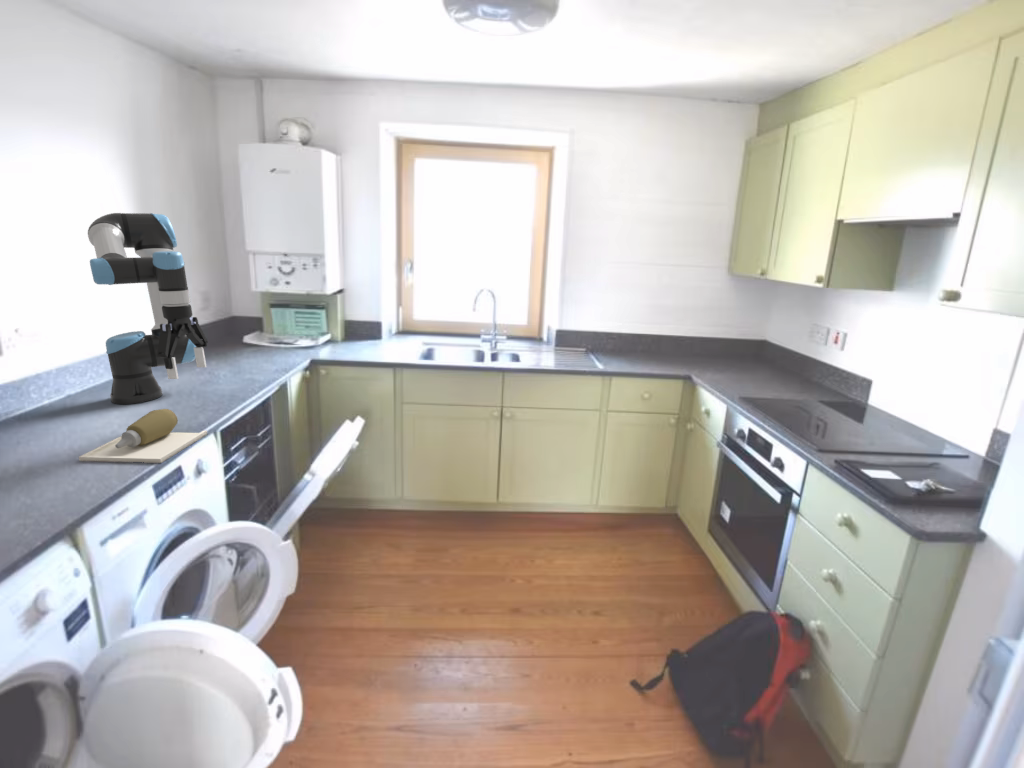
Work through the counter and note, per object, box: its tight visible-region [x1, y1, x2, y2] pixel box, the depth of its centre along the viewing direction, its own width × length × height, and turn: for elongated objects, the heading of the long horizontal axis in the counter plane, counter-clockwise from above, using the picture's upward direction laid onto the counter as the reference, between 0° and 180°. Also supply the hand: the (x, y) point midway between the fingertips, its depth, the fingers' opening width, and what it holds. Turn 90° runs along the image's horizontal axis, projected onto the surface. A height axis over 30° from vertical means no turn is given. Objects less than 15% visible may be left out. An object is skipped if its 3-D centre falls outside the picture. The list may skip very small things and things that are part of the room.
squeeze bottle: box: [115, 408, 179, 448], centre depth 147 cm, size 8×8×18 cm
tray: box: [78, 430, 208, 464], centre depth 145 cm, size 20×22×1 cm
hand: (188, 372), depth 162 cm, fingers open, 13 cm apart
